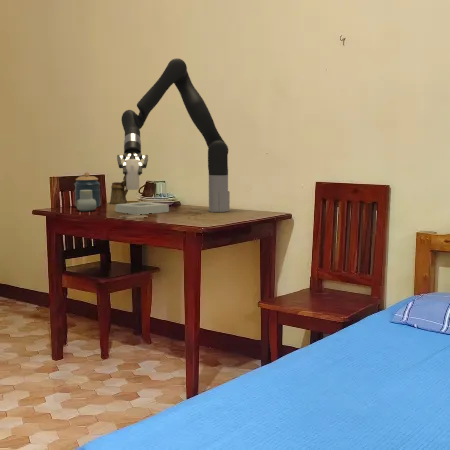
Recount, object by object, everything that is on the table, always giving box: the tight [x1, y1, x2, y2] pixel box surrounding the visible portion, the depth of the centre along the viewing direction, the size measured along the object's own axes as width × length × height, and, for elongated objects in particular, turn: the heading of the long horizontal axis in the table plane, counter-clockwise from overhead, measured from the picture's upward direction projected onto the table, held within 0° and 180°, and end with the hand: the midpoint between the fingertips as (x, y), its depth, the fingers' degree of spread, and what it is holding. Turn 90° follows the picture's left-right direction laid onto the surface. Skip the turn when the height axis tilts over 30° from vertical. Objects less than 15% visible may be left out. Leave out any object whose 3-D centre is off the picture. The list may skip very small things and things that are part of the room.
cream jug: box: [125, 159, 140, 191], centre depth 269 cm, size 8×6×13 cm
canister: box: [73, 171, 102, 208], centre depth 316 cm, size 13×13×18 cm
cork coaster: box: [118, 214, 149, 220], centre depth 273 cm, size 9×9×1 cm
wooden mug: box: [109, 174, 129, 205], centre depth 331 cm, size 9×14×18 cm, turn 63°
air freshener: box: [76, 190, 97, 212], centre depth 298 cm, size 11×8×10 cm
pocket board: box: [114, 201, 170, 215], centre depth 294 cm, size 18×18×4 cm
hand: (132, 173), depth 269 cm, fingers closed on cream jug, 5 cm apart
